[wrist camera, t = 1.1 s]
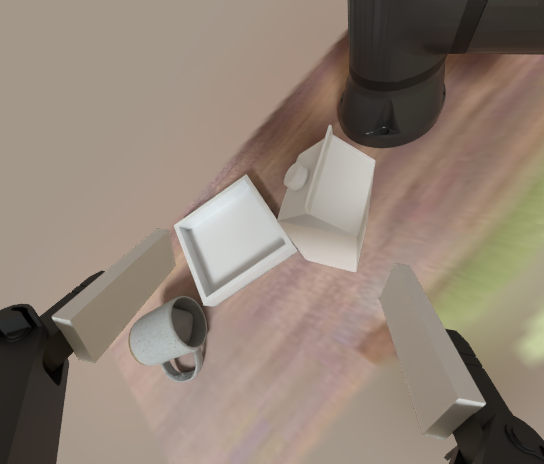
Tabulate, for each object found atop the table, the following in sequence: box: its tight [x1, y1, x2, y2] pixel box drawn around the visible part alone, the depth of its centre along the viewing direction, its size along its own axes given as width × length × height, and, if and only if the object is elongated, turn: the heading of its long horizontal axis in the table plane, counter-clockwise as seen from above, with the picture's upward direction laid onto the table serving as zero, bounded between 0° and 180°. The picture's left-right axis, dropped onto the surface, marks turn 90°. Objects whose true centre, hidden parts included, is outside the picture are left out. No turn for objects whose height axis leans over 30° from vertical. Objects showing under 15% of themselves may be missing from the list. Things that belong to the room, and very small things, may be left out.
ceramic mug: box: [129, 296, 207, 382], centre depth 32 cm, size 11×8×8 cm
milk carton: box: [277, 125, 375, 272], centre depth 25 cm, size 7×7×19 cm
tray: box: [174, 174, 298, 307], centre depth 38 cm, size 16×16×3 cm
